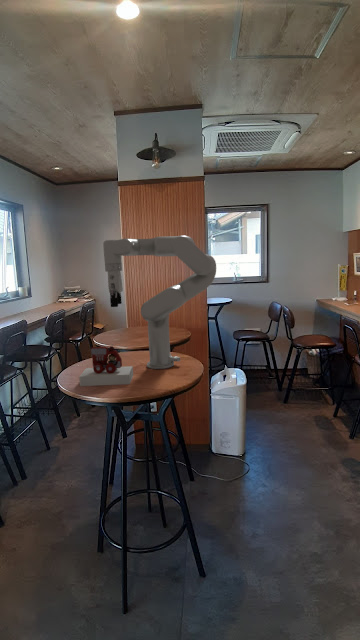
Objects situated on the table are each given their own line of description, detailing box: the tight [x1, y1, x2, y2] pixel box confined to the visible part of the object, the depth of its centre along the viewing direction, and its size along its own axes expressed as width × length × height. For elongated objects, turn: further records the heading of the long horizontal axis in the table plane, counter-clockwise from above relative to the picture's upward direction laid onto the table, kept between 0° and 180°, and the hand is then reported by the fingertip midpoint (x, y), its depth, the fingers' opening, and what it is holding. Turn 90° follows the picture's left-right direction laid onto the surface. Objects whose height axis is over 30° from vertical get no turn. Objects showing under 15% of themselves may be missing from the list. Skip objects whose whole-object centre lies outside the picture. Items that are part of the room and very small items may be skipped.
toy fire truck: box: [90, 345, 123, 374], centre depth 152 cm, size 7×12×10 cm, turn 84°
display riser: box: [78, 365, 134, 387], centre depth 153 cm, size 20×11×4 cm, turn 90°
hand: (116, 305), depth 170 cm, fingers open, 9 cm apart
